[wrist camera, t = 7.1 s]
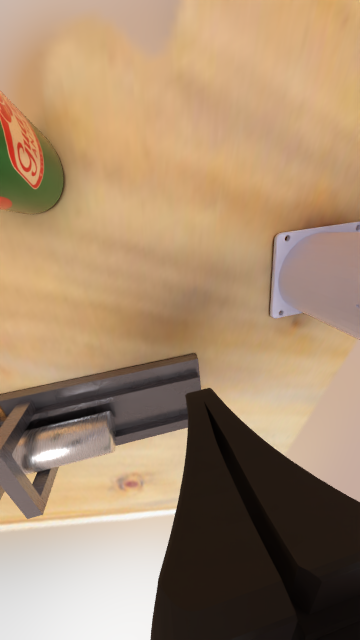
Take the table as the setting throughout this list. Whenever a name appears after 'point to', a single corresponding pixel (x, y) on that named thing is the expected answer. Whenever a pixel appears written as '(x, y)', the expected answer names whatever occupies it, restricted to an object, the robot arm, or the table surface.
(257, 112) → the table surface
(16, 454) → the tube
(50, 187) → the soda can
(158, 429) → the rail
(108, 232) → the table surface
